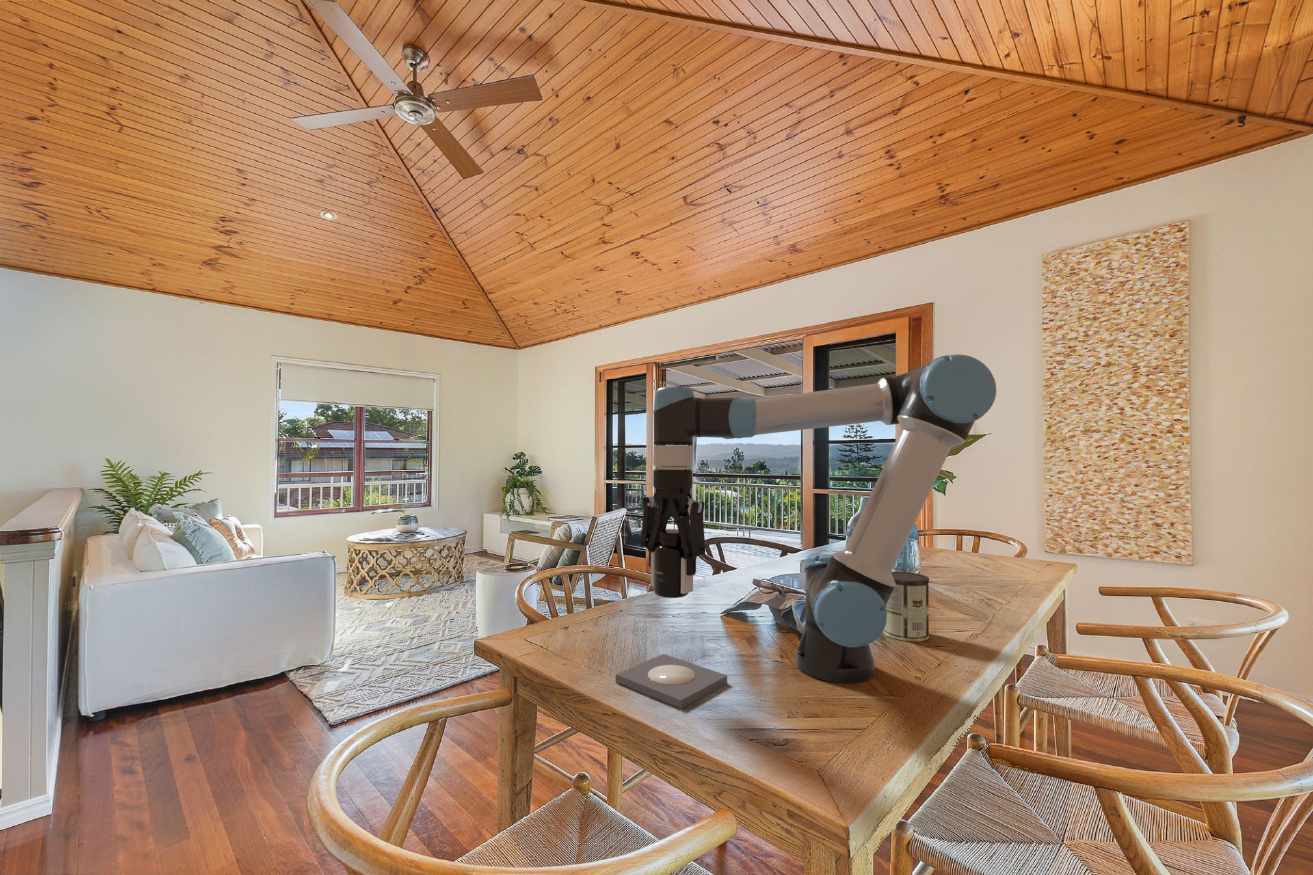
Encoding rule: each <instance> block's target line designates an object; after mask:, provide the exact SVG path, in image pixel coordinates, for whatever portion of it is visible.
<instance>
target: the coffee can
mask: <svg viewBox="0 0 1313 875" xmlns="http://www.w3.org/2000/svg"><path fill="white" fill-rule="evenodd" d="M892 576H893V578H894V581H895V584H896V586H895V588H894V590H893V592H892V594H891V596H890V598H889V600H888V602H887V605H886V610H887V622H886V626H885V629H884V631H883V632H882V633H883V634H884V635H885V636H886V637H889V638H892V639H895V640H899V641H904V642H911V643H912V642H916V643H917V642H918V643H919V642H924V641H927V640H929V638H930V634H929V633H930V632H929V630H930V628H929V627H930V625H929V624H930V621H929V620H930V619H929V618H930V617H929V614H930V613H929V612H930V610H929V607H930V606H929V604H930V603H929V600H930V599H929V597H930V596H929V587H930V586H929V582H930V578H929V577H928V576H927V575H924V574H920V573H917V572H911V571H892Z"/></svg>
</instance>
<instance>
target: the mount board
mask: <svg viewBox="0 0 1313 875" xmlns="http://www.w3.org/2000/svg"><path fill="white" fill-rule="evenodd" d="M615 683H616V684H619V685H622V686H624V687H627V688H629V689H631V690H634V691H637V692H638V693H641V694H643V695H645V696H648V697H650V698H653V699H655V700H658V701H661V702H663V703H664V704H668V705H670V706H672V707H675V708H677V709H679V710H682V709H684V708H686V707H687V706H689V705H691V704H693V703H694V702H696V701H698V700H700V699H701V698H703V697H705V696H707V695H708V694H711V693H712V692H714V691H716V690H718V689H720V688H721V687H723V686H725V685H727V684H728V675H727V674H724V673H721V672H719V671H716V670H712V669H710V668H706V667H704V666H700V665H698V664H694V663H692V662H689V661H686V660H683V659H680V658H677V657H674V656H671V655H668V654H666V653H663V654H660V655H658V656H655V657H653V658H651V659H649V660H645V661H644V662H642V663H639V664H637V665H633V666H632V667H630V668H627V669H624V670H623V671H620V672H618V673H616V674H615Z"/></svg>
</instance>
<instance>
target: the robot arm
mask: <svg viewBox="0 0 1313 875" xmlns="http://www.w3.org/2000/svg"><path fill="white" fill-rule="evenodd" d="M996 397H997V383H996V380H995V378H994V375H993V374H992V372H991V370H990V369H989V367H988V366H987V365H986V364H984V363H983V362H982V361H981V360H979V359H977V358H975V357H973V356H970V355H968V354H967V355H966V354H961V353H960V354H959V353H958V354H956V353H955V354H948V355H946V354H945V355H941V356H939V357H937V358H934V359H933V360H931V361H930V362H928V363H926V364H925V365H921V366H920V367H918V368H916V369H913V370H909V371H908V372H905V373H901V374H897V375H893V376H888V377H886V376H885V377H881V378H880V379H879V380H878V381H877V383H871V384H864V385H857V386H850V387H839V388H832V389H826V390H817V391H809V392H802V393H795V394H787V395H779V396H772V397H771V396H770V397H764V398H763V397H762V398H751V397H749V398H748V397H740V396H736V397H709V398H708V397H706V398H705V397H704V398H702V397H695V394H694V390H693V388H691V387H688V386H662V387H658V389H656V390H655V393H654V406H653V408H654V409H653V452H652V454H653V456H652V457H653V459H652V465H653V466H654V467H656V468H655V469H654V470H653V471H652V476H653V477H652V486H653V488H654V489H655V491H654V493H653V496H652V495H651V496H643V498H642V499H641V501H642V507H643V514H642V527H641V533H640V534H641V536H640V546H641V547H642V548H646V550H647V551H648V567H649V568H650V587H653V588H654V550H655V548H656V546H657V545H659V544H660V543H661V541H660V531H661V530H665V529H667V526H668V523H669V522H668V521H670V519H671V518H673V522H674V523H675V525H676V527H677V530H678V531H679V535H680V539H681V543H682V547H683V551H684V555H685V556H683V558H681V593H682V594H686V593H688V594H689V593H691V592H693V591H694V576H696V574H697V558H698V557H699V556H703V555H706V552H707V551H706V538H705V528H704V527H705V525H704V511H705V510H704V509H705V504H706V503H705V502H704V501H702V500H701V501H698V500H695V499H693V497H692V495H691V490H692V488H693V470H692V469H690V467H692V466H693V445H694V443H693V440H694V438H717V439H718V438H720V439H721V438H722V439H724V440H732V439H734V440H735V439H743V438H753V437H755V436H759V435H768V434H777V433H778V434H779V433H787V432H794V431H795V432H796V431H804V430H812V429H821V428H822V429H823V428H829V427H839V426H848V425H856V424H857V425H858V424H867V423H873V422H874V423H875V422H882V423H883V424H884V425H886V426H893V425H899V426H900V432H899V434H898V436H897V438H896V440H895V442H894V444H893V446H892V448H891V451H890V453H889V454H888V457H887V458H886V462H885V463H884V466H883V467H882V470H881V472H880V474H879V476H878V478H877V480H876V483H875V485H874V487H873V489H872V490H871V493H870V495H869V497H868V499H867V501H866V504H865V506H864V508H863V509H862V512H861V514H860V517H859V519H858V520H857V522H856V525H855V526H854V529H853V530H852V533H851V535H850V537H849V540H848V542H847V544H846V545H845V547H844V548H843V549H842V550H841V549H840V550H839V551H835V552H833V553H814V554H813V553H812V554H809V555H808V556H806V559H805V566H804V571H805V626H804V631H803V633H802V636H801V638H800V642H799V643H798V644H799V645H798V646H797V647H798V648H797V651H796V666H797V667H798V669H799V670H800V671H802V672H803V673H804V674H806V675H808V676H810V677H813V678H816V679H818V680H822V681H827V682H834V683H842V684H843V683H844V684H845V683H846V684H847V683H849V684H853V683H854V684H855V683H860V682H861V683H862V682H865V681H868V680H871V679H872V678H873V677H874V676H875V660H874V657H873V656H874V655H873V654H872V650H871V648H870V644H872V643H873V642H875V641H876V640H877V639H879V637H880V636H881V635H882V633H883V631H884V629H885V626H886V622H887V610H886V605H887V602H888V600H889V598H890V596H891V594H892V592H893V590H894V588H895V586H896V584H895V581H894V578H893V576H892V572H893V570H894V568H895V565H896V564H897V562H898V560H899V557H900V555H901V553H902V551H903V548H904V546H905V545H906V543H907V540H908V538H909V536H910V534H911V532H912V530H913V528H914V527H915V524H916V522H917V519H918V517H919V516H920V513H921V511H922V509H923V508H924V505H925V503H926V501H927V499H928V497H929V495H930V492H931V491H932V489H933V486H934V484H935V482H936V480H937V478H938V476H939V473H940V472H941V470H942V468H943V466H944V464H945V462H946V459H947V457H948V456H949V454H950V451H951V450H952V449H953V448H955V447H958V446H960V445H961V446H962V445H963V444H965V442H966V440H967V438H968V437H969V434H970V432H971V430H972V428H973V426H974V424H975V422H976V421H977V420H980V419H981V418H982V417H984V416H985V415H986V414H987V413H988V412H989V411H990V409H991V408H992V407H993V405H994V403H995V400H996Z"/></svg>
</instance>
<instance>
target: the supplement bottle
mask: <svg viewBox="0 0 1313 875" xmlns="http://www.w3.org/2000/svg"><path fill="white" fill-rule="evenodd" d="M660 541H661V543H660V544H659V545H657V546H656V548H655V550H654V587H653V593H654V594H655V595H656V596H658V597H662V598H665V599H666V598H667V599H678V598H683V597H686V596H688V594H689V593H686V594H682V593H681V558H683V556H685V555H684V551H683V547H682V543H681V539H680V535H679V531H678V528H677V529H673V528H671V529H670V528H669V529H667V528H666V529H665V530H661V531H660Z"/></svg>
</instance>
